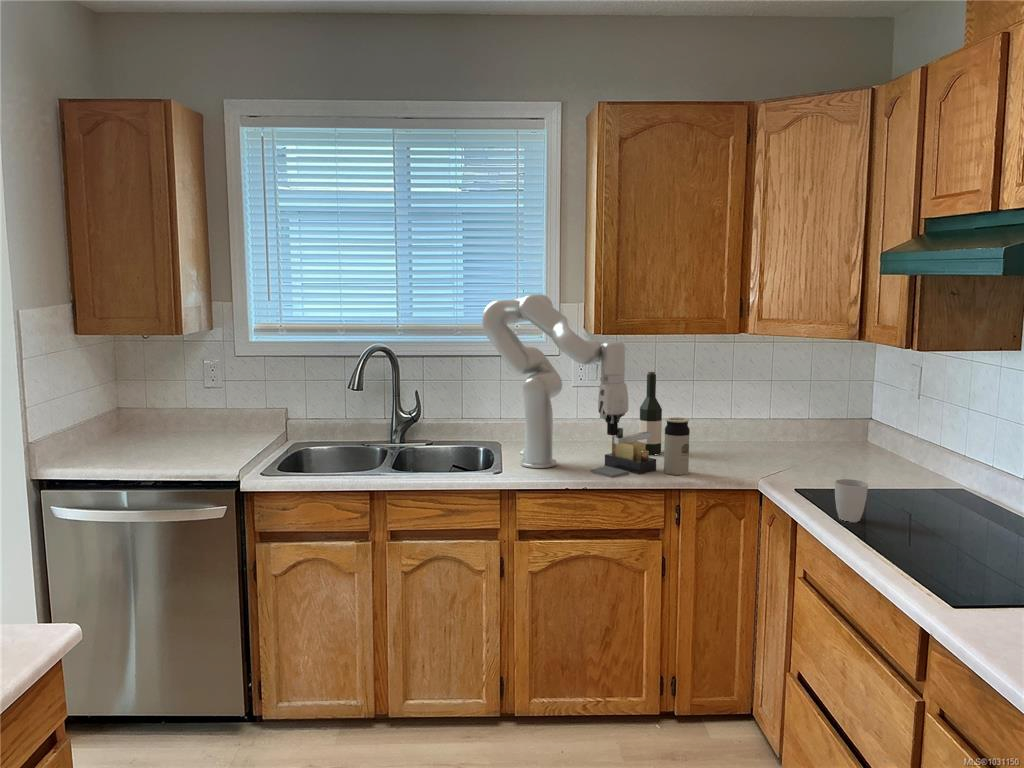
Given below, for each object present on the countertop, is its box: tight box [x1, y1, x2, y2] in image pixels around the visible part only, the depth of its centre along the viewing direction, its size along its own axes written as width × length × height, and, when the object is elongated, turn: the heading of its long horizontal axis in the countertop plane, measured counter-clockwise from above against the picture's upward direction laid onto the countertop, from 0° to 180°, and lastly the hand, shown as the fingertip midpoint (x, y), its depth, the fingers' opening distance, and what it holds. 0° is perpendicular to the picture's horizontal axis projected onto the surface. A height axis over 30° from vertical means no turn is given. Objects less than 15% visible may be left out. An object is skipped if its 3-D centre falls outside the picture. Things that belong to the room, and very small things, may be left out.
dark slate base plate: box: [604, 435, 657, 475], centre depth 271 cm, size 16×8×10 cm, turn 39°
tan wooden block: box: [615, 440, 645, 460], centre depth 270 cm, size 8×6×5 cm
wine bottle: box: [638, 371, 663, 456], centre depth 294 cm, size 8×8×30 cm
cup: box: [834, 478, 869, 523], centre depth 212 cm, size 8×8×10 cm
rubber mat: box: [589, 465, 630, 478], centre depth 265 cm, size 10×8×1 cm
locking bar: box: [614, 427, 651, 444], centre depth 270 cm, size 2×16×5 cm, turn 130°
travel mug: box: [663, 416, 691, 476], centre depth 264 cm, size 8×8×18 cm
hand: (612, 434), depth 264 cm, fingers closed
